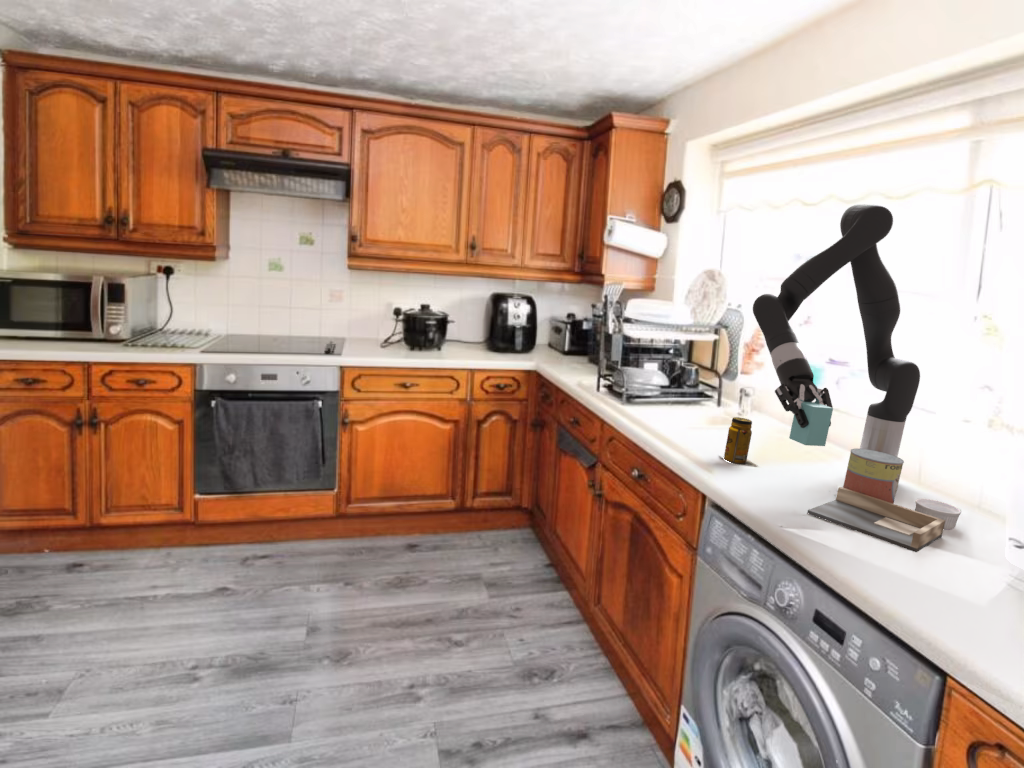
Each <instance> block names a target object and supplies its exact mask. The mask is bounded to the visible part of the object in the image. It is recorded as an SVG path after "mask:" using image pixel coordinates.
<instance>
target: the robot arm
mask: <svg viewBox="0 0 1024 768" xmlns="http://www.w3.org/2000/svg"><path fill="white" fill-rule="evenodd" d="M893 224H894V216H893V213H892V212H891V211H890V210H889V209H888V208H887V207H886V206H882V205H878V204H854V205H851V206H849V207H848V208H847V209H845V211H844V212H843V214H842V216H841V218H840V223H839V225H840V226H839V227H840V233H841V237H840V239H839V240H837V241H836V242H834V243H833V244H831V245H830V246H829V247H828V248H826V249H824V250H823V251H821V252H819V253H817V254H816V255H814V256H812V257H811V258H808V259H807V260H806V261H805V262H803V263H802V264H801V265H799V266H798V267H797V268H796V269H795V270H794V271H792V273H790V275H789V276H787V278H785V279H784V280H783V282H782V283H781V284H780V292H779V294H778V295H777V296H776V295H774V294H772V293H764V294H761V295H760V296H758V297H756V299H755V300H754V302H753V304H752V305H753V306H752V313H753V316H754V317H755V320H756V322H757V324H758V327H759V329H760V331H761V332H762V335H763V337H764V340H765V344H766V347H767V349H768V351H769V355H770V357H771V361H772V365H773V368H774V370H775V373H776V375H777V377H778V381H779V382H780V385H779V386H778V387H777V388H776V389H775V390H774V394H775V395H776V397H777V398H778V401H779V402H780V404H781V406H782V408H783V409H784V410H785V412H791V413H792V414H793V415H794V414H795V417H796V419H797V422H798V424H799V425H800V427H801V428H805V427H806V426H807V425H809V421H808V419H807V416H806V414H805V411H804V410H802V409H803V406H802V403H803V402H814V403H818V404H822V405H825V406H828V407H831V408H833V407H834V406H833V403H832V399H831V396H830V391H829V389H828V388H827V387H824V388H823V389H822V388H818V386H817V385H816V384H815V383H814V373H813V370H812V367H811V366H810V363H809V361H808V359H807V357H806V354H805V352H804V350H803V348H802V347H801V345H800V343H799V340H798V337H797V336H796V333H795V331H794V330H793V328H792V327H791V325H790V322H789V321H790V320H791V319H792V317H793V316H794V315H795V313H796V312H797V311H798V310H799V308H800V306H801V304H802V303H803V302H804V301H805V300H806V299H807V298H809V297H810V296H811V295H812V294H813V293H814V292H815V291H816V290H817V289H818V288H819V287H821V286H822V285H823V283H825V282H826V281H827V280H828V279H829V278H831V277H832V276H833V275H834V274H835V273H837V272H838V271H840V270H841V269H842V268H844V267H845V266H846V265H847V264H849V263H850V265H851V267H850V268H851V271H852V278H853V282H854V287H855V290H856V299H857V304H858V309H859V314H860V318H861V321H862V322H861V323H862V328H863V335H864V340H865V348H866V360H867V361H866V362H867V372H868V378H869V382H870V384H871V385H872V386H873V388H875V389H877V390H879V391H882V392H886V393H885V395H884V398H883V399H882V401H880V402H875V403H870V405H869V407H868V409H867V414H866V418H865V422H864V423H865V424H864V429H863V432H862V437H861V442H860V446H859V449H868V450H874V451H879V452H883V453H887V454H890V455H893V456H896V457H898V456H899V451H900V448H901V447H900V446H901V443H902V440H903V439H902V438H903V435H904V430H905V425H906V421H907V418H908V415H909V414H910V413H911V411H912V408H913V407H914V402H915V399H916V395H917V392H918V389H919V386H920V380H921V371H920V369H919V366H918V365H917V364H916V363H915V362H912V361H909V360H903V359H900V358H899V359H898V358H896V357H895V354H894V352H893V345H892V335H893V332H894V329H895V327H896V326H897V323H898V322H899V319H900V314H901V304H900V300H899V293H898V289H897V286H896V285H897V284H896V283H895V280H894V278H893V277H892V275H891V274H890V272H889V271H888V269H887V267H886V265H885V264H884V262H883V260H882V259H881V257H880V254H879V249H878V245H877V244H878V243H880V242H881V241H882V240H883V239H885V238H886V236H888V235H889V234H890V232H891V230H892V228H893ZM796 404H797V405H796ZM833 409H834V408H833ZM831 426H832V422H831V421H830V425H829V428H830V427H831ZM898 458H899V457H898Z"/></svg>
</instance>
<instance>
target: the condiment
mask: <svg viewBox="0 0 1024 768" xmlns="http://www.w3.org/2000/svg"><path fill="white" fill-rule="evenodd" d="M752 425H753V421H752V420H751V419H749V418H746V417H745V418H744V417H739V416H736V417H735V416H734V417H732V419H731V424H730V426H729V427H728V431H727V432H728V433H727V439H726V442H725V443H726V445H725V448H724V454H723V455H724V456H723V457H724V459H725V460H727V461H729V462H731V463H733V464H732V465H736V466H737V465H738V466H740V465H741V466H754V467H755V466H756V467H759V465H757V464H756V463H754V462H753V461H751V460H749V458H748V456H749V449H750V444H751V440H752V434H753V433H752V432H753V431H752Z"/></svg>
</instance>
